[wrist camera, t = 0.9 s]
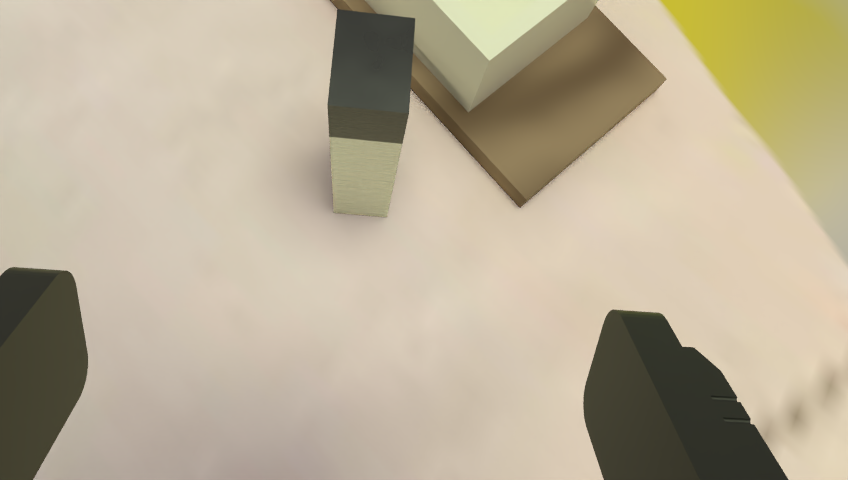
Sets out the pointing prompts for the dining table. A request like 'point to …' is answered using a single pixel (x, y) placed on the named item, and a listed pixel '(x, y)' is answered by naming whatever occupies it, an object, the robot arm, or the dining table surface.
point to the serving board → (544, 104)
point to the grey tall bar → (368, 108)
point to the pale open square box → (483, 38)
